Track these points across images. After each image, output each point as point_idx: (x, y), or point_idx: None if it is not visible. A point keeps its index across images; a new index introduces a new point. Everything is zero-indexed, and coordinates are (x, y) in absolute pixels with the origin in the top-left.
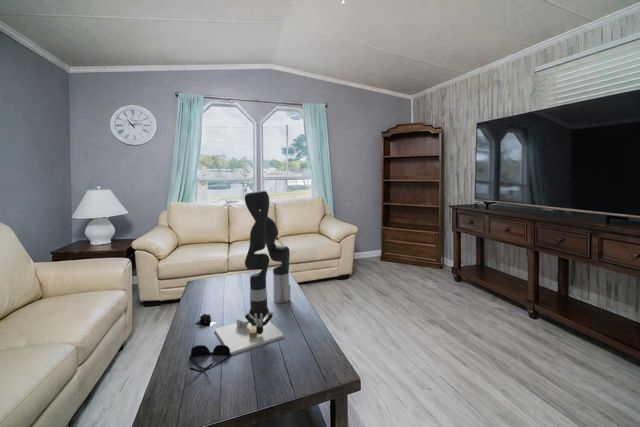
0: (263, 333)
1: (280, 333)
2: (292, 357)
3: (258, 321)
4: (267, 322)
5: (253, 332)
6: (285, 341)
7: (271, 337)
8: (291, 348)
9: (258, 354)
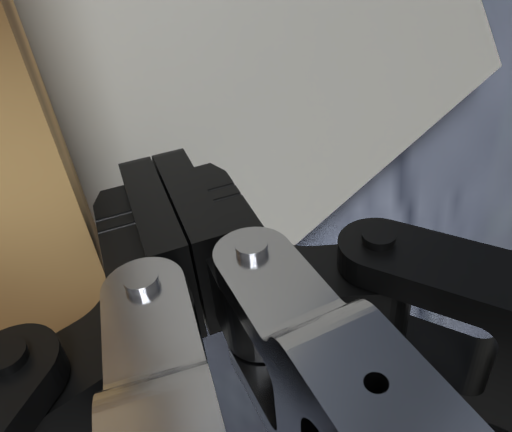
0: (185, 83)
1: (459, 37)
2: (485, 332)
3: (180, 351)
4: (449, 352)
5: (69, 321)
6: (472, 148)
7: (338, 174)
8: (501, 243)
9: (233, 401)
